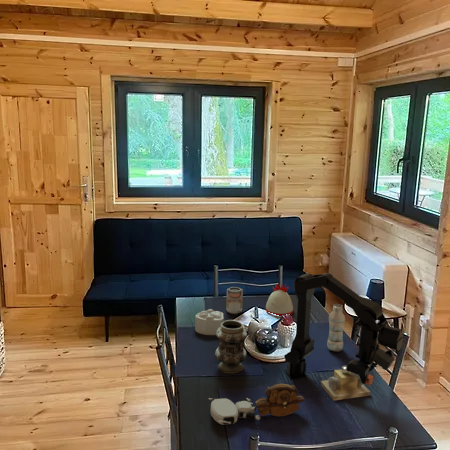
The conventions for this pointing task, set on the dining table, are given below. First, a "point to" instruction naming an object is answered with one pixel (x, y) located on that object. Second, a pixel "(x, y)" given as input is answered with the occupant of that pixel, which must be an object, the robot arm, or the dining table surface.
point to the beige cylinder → (234, 300)
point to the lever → (368, 381)
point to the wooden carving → (279, 400)
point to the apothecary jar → (231, 346)
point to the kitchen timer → (279, 301)
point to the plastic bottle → (336, 329)
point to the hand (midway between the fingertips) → (363, 383)
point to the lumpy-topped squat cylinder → (208, 322)
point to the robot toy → (232, 410)
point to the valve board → (345, 393)
